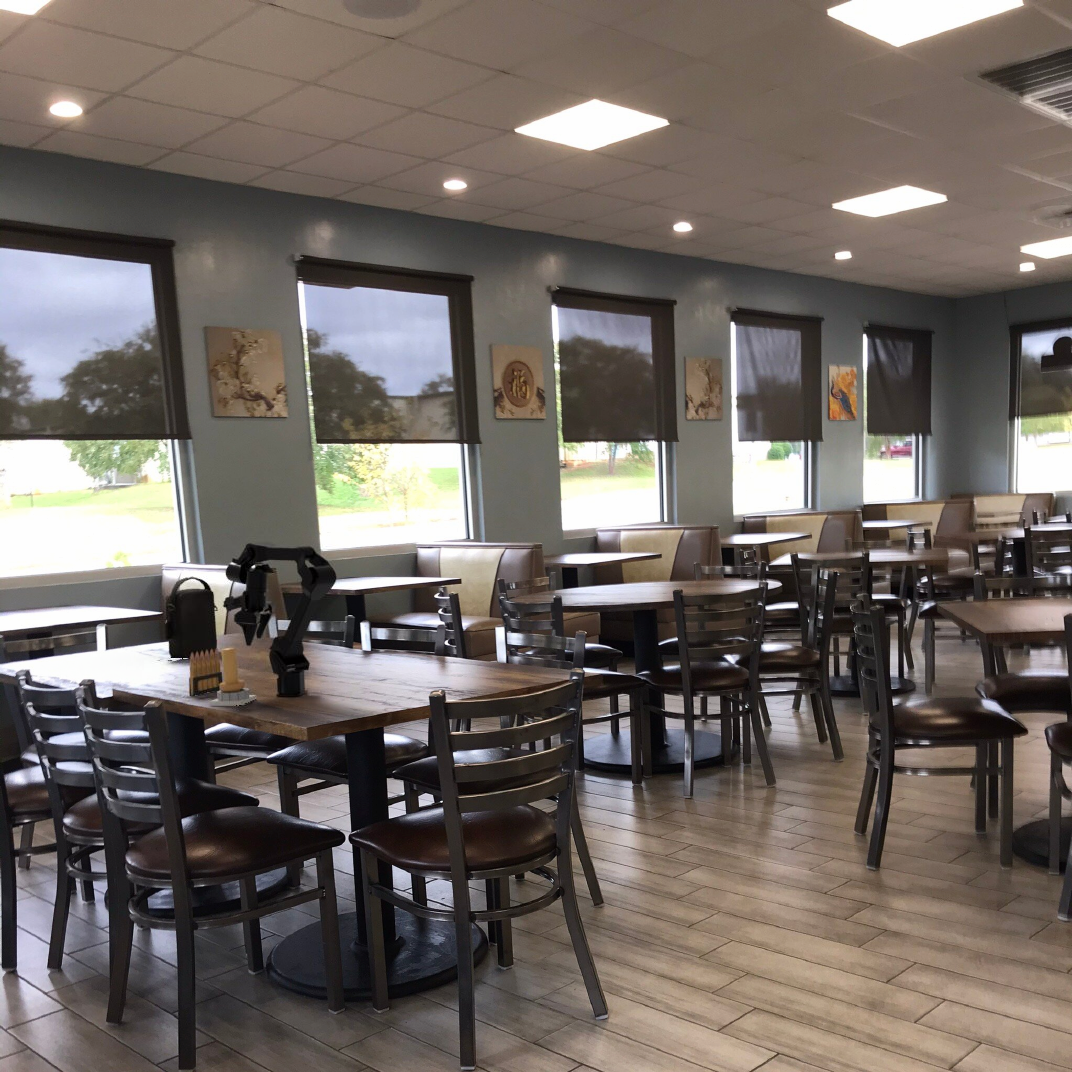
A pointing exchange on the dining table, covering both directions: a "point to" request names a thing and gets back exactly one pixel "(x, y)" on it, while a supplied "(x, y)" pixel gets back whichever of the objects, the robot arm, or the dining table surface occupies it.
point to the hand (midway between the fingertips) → (253, 642)
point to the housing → (232, 698)
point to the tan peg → (230, 672)
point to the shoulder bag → (190, 620)
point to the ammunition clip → (204, 673)
